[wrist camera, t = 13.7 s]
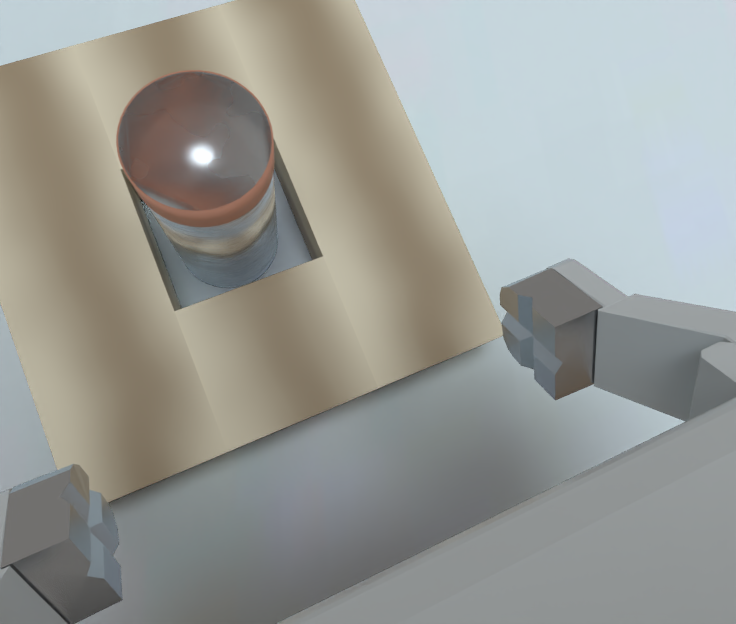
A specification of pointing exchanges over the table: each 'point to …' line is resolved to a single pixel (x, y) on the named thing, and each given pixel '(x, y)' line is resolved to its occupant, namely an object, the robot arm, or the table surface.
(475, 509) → the table surface
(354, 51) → the wooden flat square block
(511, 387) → the table surface
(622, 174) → the table surface
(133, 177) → the steel peg
